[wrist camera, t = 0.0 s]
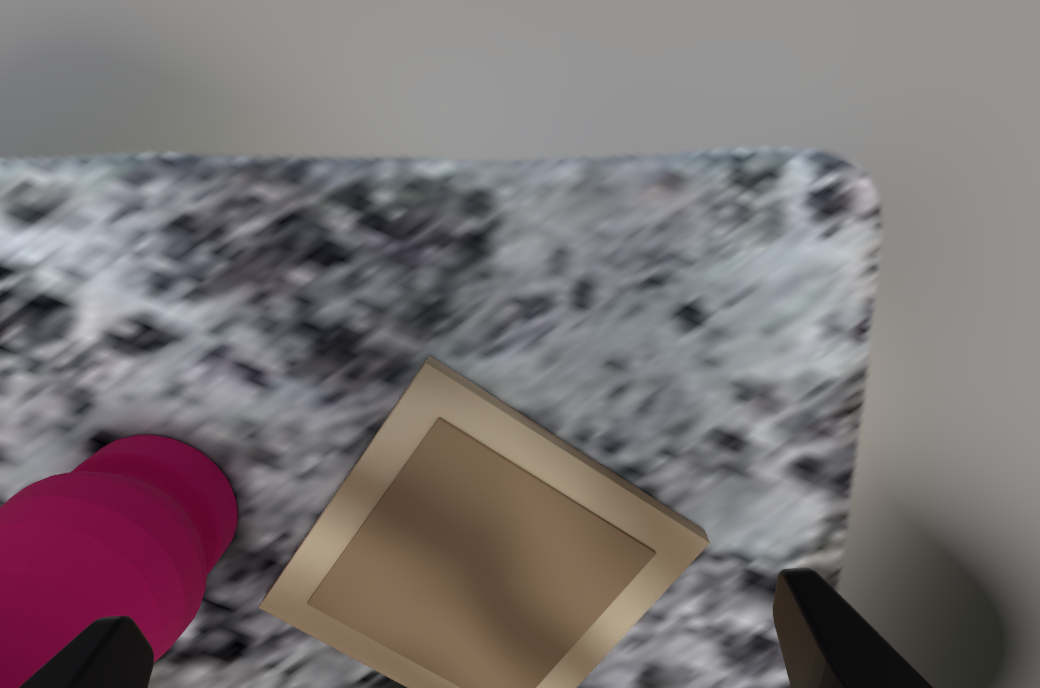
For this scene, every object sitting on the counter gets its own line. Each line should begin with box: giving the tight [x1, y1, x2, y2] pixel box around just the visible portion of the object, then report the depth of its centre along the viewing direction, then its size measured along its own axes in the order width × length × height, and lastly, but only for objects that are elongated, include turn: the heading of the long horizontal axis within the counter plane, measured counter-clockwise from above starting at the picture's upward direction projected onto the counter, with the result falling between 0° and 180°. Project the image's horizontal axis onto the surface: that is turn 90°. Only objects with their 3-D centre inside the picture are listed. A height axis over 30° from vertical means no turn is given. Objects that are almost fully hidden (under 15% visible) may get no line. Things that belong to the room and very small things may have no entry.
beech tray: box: [259, 356, 710, 688], centre depth 27 cm, size 13×13×1 cm
